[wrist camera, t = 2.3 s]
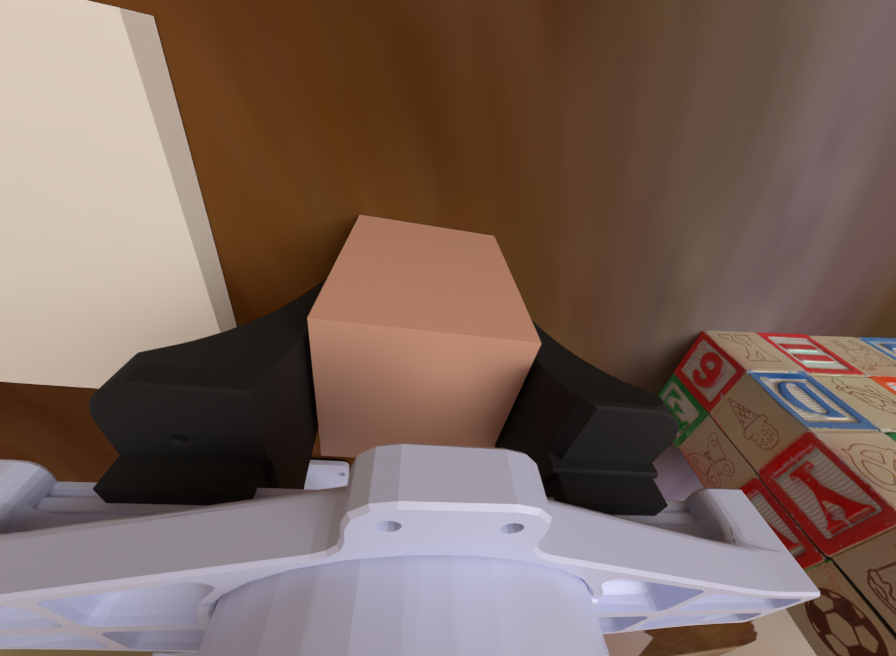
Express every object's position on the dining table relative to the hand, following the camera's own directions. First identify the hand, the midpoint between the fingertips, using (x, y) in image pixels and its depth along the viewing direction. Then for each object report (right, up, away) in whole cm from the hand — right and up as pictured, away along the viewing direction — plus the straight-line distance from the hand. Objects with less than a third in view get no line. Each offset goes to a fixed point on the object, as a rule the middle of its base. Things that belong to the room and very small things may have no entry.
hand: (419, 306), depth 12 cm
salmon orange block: (0, +1, +1) cm, 2 cm away
